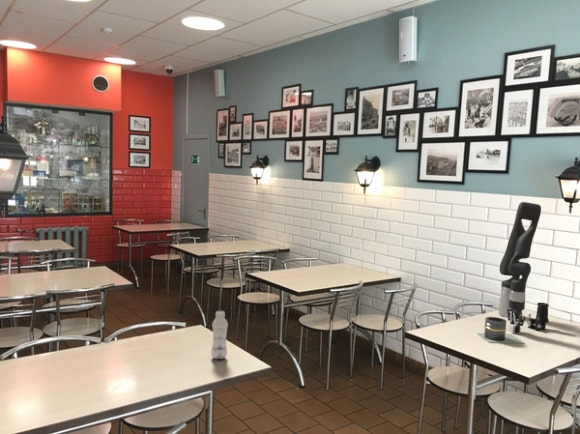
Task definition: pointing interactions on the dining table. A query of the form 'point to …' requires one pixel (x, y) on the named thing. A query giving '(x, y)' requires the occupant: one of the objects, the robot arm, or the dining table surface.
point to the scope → (539, 317)
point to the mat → (508, 339)
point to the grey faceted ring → (495, 328)
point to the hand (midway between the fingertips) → (514, 331)
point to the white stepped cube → (513, 329)
